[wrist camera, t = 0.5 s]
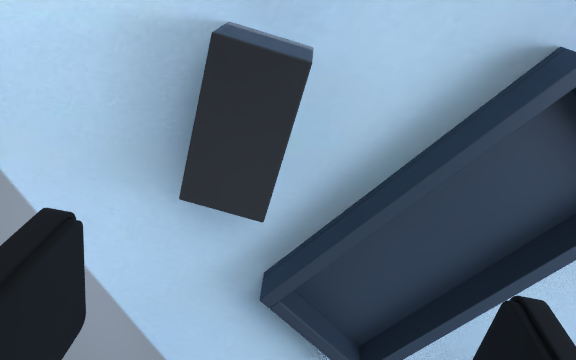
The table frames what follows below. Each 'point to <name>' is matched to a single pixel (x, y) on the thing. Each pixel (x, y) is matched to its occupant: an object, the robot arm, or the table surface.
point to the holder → (444, 229)
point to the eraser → (244, 119)
